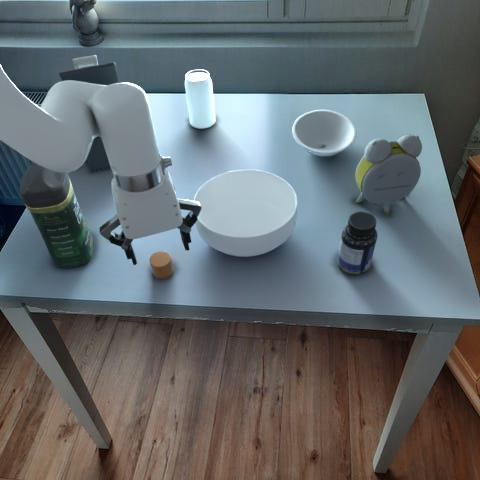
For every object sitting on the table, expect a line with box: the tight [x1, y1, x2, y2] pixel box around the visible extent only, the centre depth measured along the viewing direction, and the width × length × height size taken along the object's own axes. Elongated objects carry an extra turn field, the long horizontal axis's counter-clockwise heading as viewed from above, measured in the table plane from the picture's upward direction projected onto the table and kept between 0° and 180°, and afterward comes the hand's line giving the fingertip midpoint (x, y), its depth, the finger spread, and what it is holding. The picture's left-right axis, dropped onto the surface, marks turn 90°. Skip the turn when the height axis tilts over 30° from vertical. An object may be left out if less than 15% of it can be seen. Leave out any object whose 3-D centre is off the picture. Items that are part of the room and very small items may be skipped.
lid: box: [58, 54, 120, 86], centre depth 104 cm, size 12×12×5 cm
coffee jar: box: [19, 162, 94, 269], centre depth 86 cm, size 10×8×19 cm
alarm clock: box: [354, 134, 423, 216], centre depth 92 cm, size 12×7×15 cm, turn 99°
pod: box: [148, 250, 175, 279], centre depth 88 cm, size 4×4×4 cm
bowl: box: [192, 168, 299, 258], centre depth 91 cm, size 20×20×8 cm
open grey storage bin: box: [86, 137, 111, 173], centre depth 110 cm, size 12×12×8 cm
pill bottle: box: [336, 210, 378, 276], centre depth 84 cm, size 6×6×11 cm
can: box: [184, 69, 216, 129], centre depth 115 cm, size 6×6×12 cm
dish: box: [291, 109, 357, 157], centre depth 108 cm, size 18×14×5 cm
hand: (160, 252), depth 85 cm, fingers open, 9 cm apart
